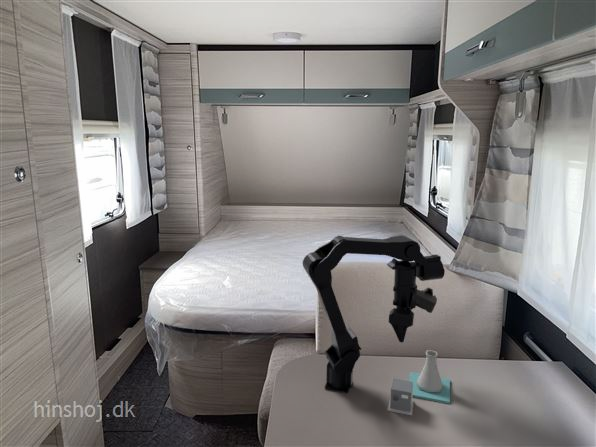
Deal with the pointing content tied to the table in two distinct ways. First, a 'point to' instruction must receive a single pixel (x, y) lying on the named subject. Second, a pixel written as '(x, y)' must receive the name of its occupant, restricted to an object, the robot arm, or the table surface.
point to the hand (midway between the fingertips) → (403, 334)
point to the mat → (434, 396)
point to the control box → (401, 397)
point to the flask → (430, 374)
